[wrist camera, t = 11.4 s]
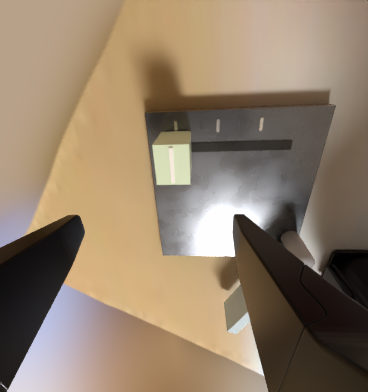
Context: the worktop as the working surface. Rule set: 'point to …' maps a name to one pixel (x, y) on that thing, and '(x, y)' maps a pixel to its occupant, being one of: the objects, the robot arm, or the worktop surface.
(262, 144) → the console
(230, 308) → the door
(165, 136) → the fader knob
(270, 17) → the worktop surface
